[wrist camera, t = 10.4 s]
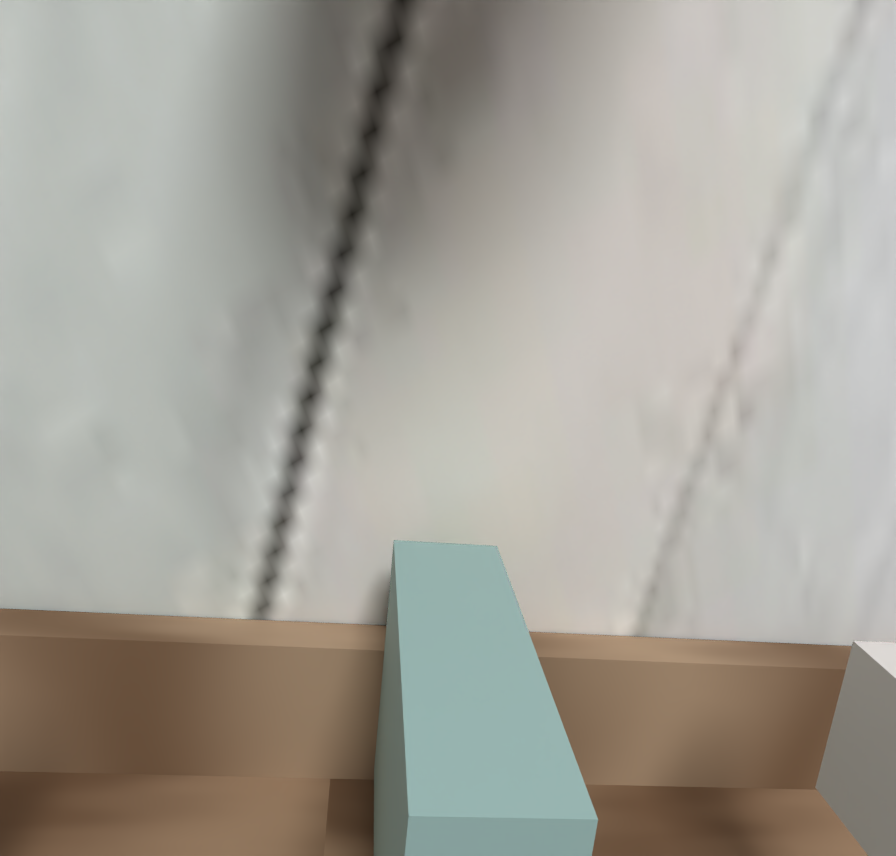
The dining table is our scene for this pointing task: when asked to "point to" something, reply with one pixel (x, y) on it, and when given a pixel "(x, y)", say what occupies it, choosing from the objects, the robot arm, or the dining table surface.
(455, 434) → the dining table surface
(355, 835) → the jig
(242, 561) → the dining table surface
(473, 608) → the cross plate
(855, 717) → the robot arm
